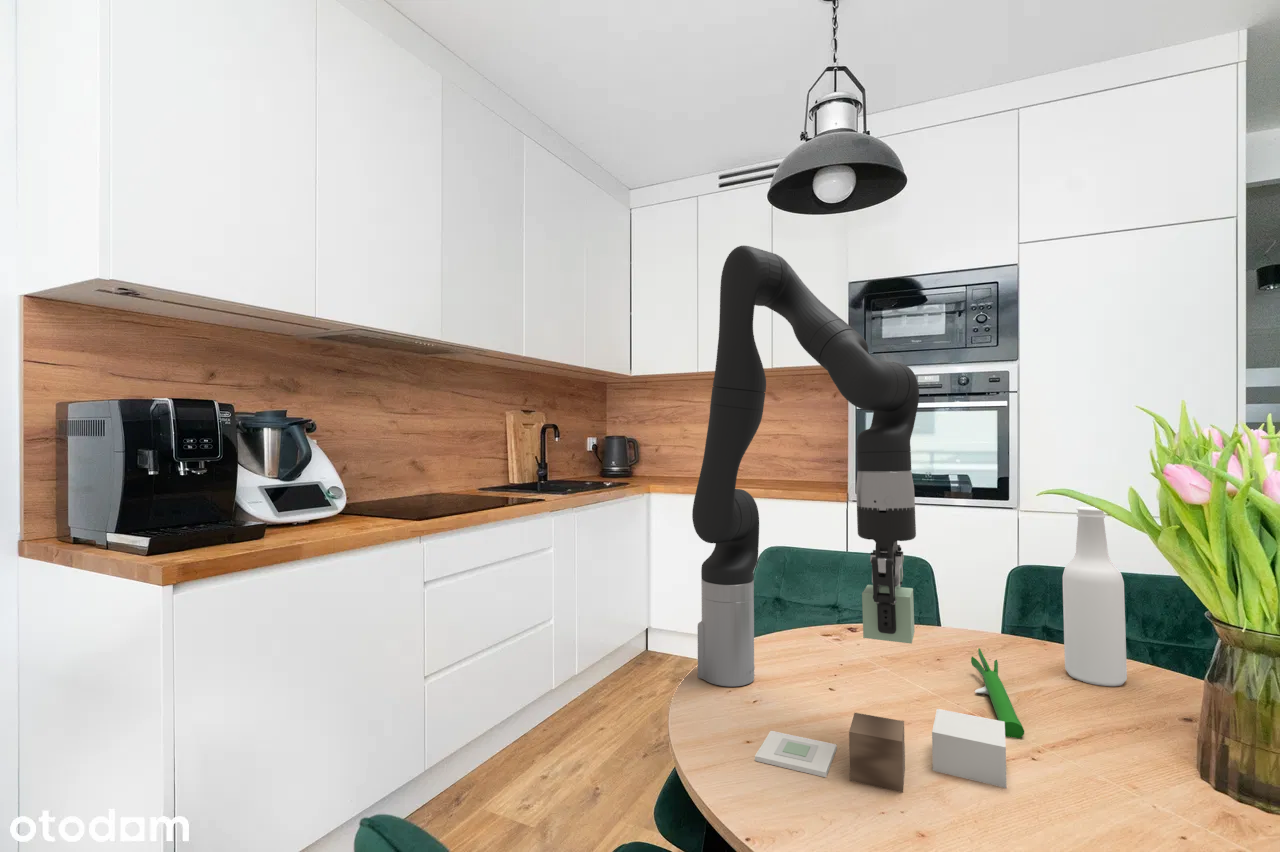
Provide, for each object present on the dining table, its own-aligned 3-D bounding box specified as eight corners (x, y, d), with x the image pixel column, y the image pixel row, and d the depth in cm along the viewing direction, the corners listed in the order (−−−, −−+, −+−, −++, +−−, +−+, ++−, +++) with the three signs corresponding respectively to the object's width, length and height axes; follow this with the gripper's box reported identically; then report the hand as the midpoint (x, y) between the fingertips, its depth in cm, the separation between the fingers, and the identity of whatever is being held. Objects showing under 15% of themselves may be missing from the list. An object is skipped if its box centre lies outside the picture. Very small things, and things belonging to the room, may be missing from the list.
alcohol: (1108, 670, 111) (1103, 505, 113) (1139, 689, 103) (1133, 510, 104) (1055, 667, 113) (1051, 504, 114) (1081, 685, 104) (1076, 509, 105)
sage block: (863, 637, 83) (861, 593, 83) (869, 626, 88) (867, 584, 88) (911, 643, 80) (910, 597, 80) (914, 631, 85) (913, 588, 86)
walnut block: (849, 781, 75) (849, 731, 75) (855, 759, 80) (854, 712, 80) (903, 793, 72) (902, 741, 72) (904, 769, 78) (904, 721, 78)
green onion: (1028, 746, 85) (993, 664, 113) (1028, 723, 85) (993, 646, 113) (989, 741, 87) (964, 661, 115) (988, 718, 87) (963, 643, 115)
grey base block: (932, 772, 77) (932, 731, 77) (937, 745, 84) (937, 708, 84) (1006, 789, 73) (1005, 747, 73) (1005, 760, 80) (1004, 721, 80)
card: (754, 760, 80) (754, 754, 80) (771, 734, 87) (770, 729, 87) (826, 777, 75) (825, 770, 75) (836, 749, 83) (836, 742, 83)
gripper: (863, 499, 93) (867, 611, 92) (848, 507, 80) (853, 637, 79) (917, 500, 90) (922, 616, 89) (911, 508, 77) (916, 644, 76)
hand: (889, 626), depth 84 cm, fingers closed on sage block, 6 cm apart
